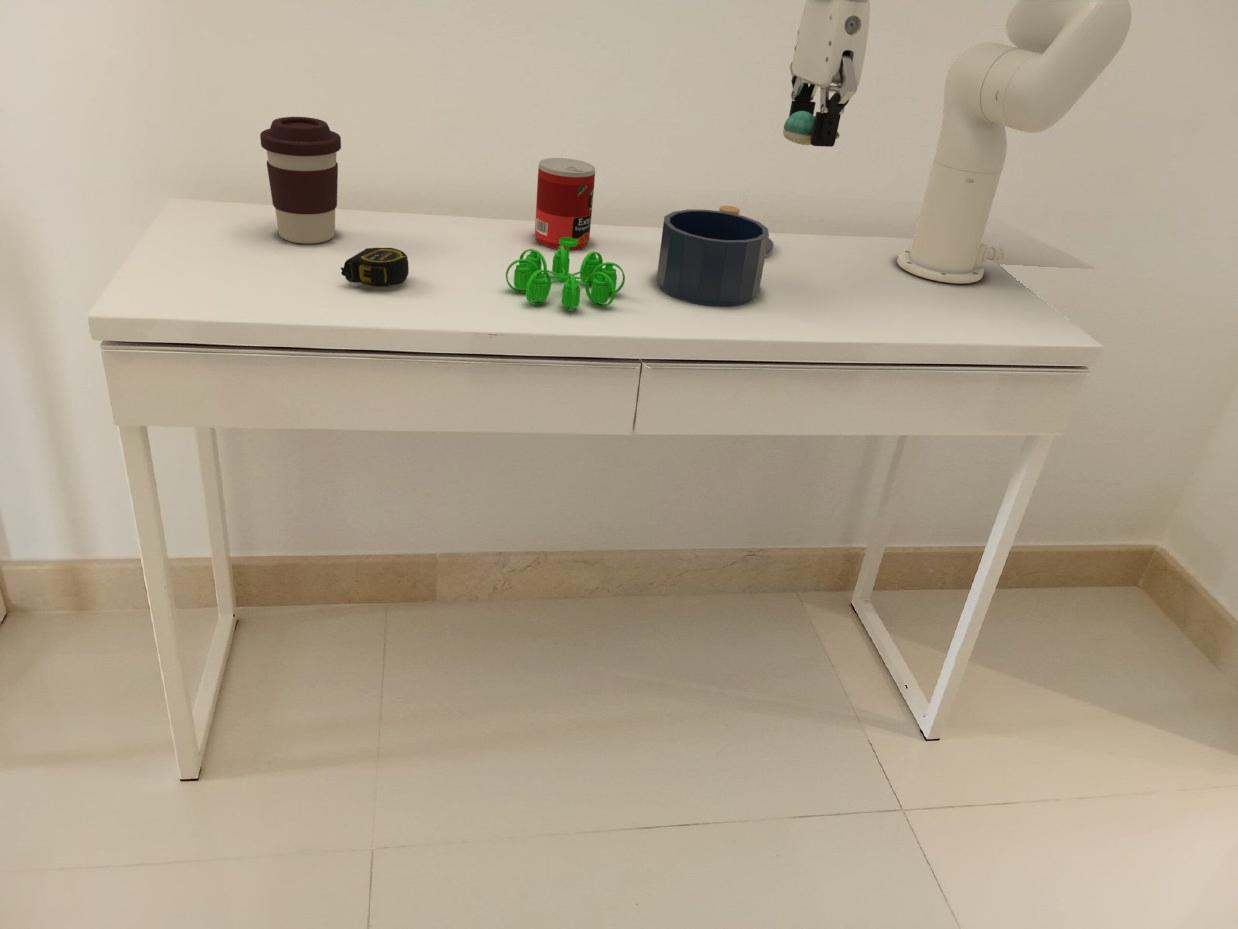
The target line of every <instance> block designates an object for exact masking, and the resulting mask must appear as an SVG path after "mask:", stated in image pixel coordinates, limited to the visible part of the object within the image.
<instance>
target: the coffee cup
mask: <svg viewBox="0 0 1238 929" xmlns="http://www.w3.org/2000/svg"><path fill="white" fill-rule="evenodd" d="M260 132H261V133H260V135H259V138H260V139H259V140H260V146H261V148H262V149H264V150H265V151H266V156H267V161H266V168H267V175H268V181H269V182H268V183H269V189H270V195H271V201H272V205H273V206H272V207H274V209H275V210H274V211H275V216H276V223H277V224H276V225H277V230H278V234H279V236H280V238H282V239H283V240H285V241H288V242H291V243H295V244H296V243H297V244H320V243H325V242H327V241H330V240H331V239H333V238H334V236H335V234H336V209H337V207H338V186H339V184H338V182H339V181H338V178H339V164H338V162H337V152H339V151H341V149H342V138H341V135H340V134H339V133H337V132H335V131H333V130H331V129H330V127H329V124H328V123H327V121H324V120H322V119H318V118H315V117H308V116H307V117H306V116H285V117H283V116H282V117H279V118H276V119H273V120H272V122H271V124H270V128H267V129H265V130H263V131H260Z"/></svg>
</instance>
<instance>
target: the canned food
mask: <svg viewBox="0 0 1238 929" xmlns="http://www.w3.org/2000/svg"><path fill="white" fill-rule="evenodd" d="M537 170H538V171H537V184H536V185H537V186H536V205H535V206H536V207H535V223H534V224H535V225H534V235H535V241H537V243H538V244H540V245H541V246H544V247H546V248H550V249H555V250H558V248H559V246H562V245H560V244H559V240H560V238H563V237H570V238H575V239H577V240H578V243H577V246H575V247H570V249H569V251H574V250H581V249H583V248H585V247H587V246H588V244H589V241H590V238H591V237H590V236H591V227H592V226H591V225H592V213H593V204H594V192H595V191H594V190H595V179H596V167H595V166H594V165H593V164H591V163H589V162H587V161H583V160H579V159H574V158H565V157H548V158H544V159H542V160H540V161H539V162H538V168H537ZM564 249H565V250H566V249H567V247H566V246H564Z"/></svg>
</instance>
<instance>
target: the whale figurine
mask: <svg viewBox="0 0 1238 929" xmlns="http://www.w3.org/2000/svg"><path fill="white" fill-rule="evenodd" d="M815 116H816V115H814V114H813V115H812V114H811V113H809V112H806V111H798V112H795V113H793V114H792V115H791V116H790V117H789V116H788V117H787V119H786V120H785V122H784V125H783V130H782V134H783V137H784V138H785V139H786V140H788V141H790V142H791V143H794V144H797V145H802V146H812V145H811V144H810V141H811V136H812V131H813V126H814V121H815ZM839 138H840V133H839V131H837V135H836V140H837V139H839Z"/></svg>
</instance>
